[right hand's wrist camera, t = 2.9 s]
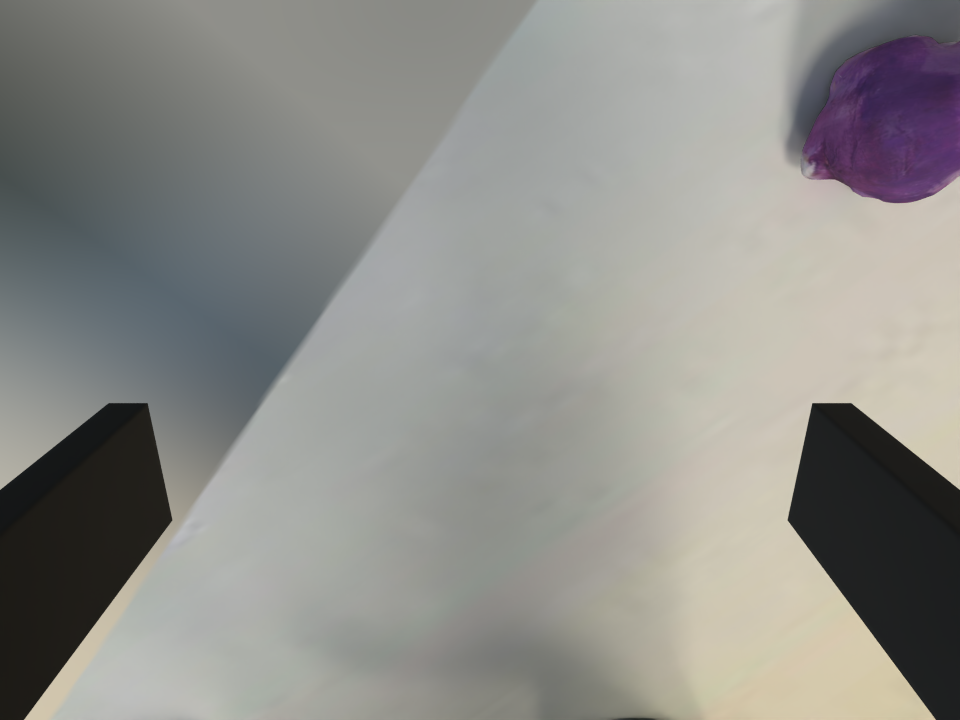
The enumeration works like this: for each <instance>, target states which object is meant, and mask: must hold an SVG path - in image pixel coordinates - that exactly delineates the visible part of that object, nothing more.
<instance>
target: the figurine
mask: <svg viewBox="0 0 960 720" xmlns="http://www.w3.org/2000/svg"><path fill="white" fill-rule="evenodd" d="M801 171H802V174H803V176H804V177H805V178H808V179H814V180H824V179H835V180H838V181H840V182H842V183H844V184H846V185H847V186H849V187H850V188H851V189H852V191H853V192H855V193H857V194H859V195H860V196H862V197H872V198H876V199H880V200H882V201H884V202H890V203H908V202H914V201H918V200H921V199H923V198H926V197H929V196H932V195H934V194H936V193H937V192H939V191H940V190H942V189H943V188H944V187H946V186H947V185H948V184H950V183H951V182H952V181H954V180H955V179H956V178H957V177H958V176H960V41H959V42H946V43H940V44H939V43H937V42H936V41H935V40H934V39H933V38H931V37H925V36H919V35H913V36H908V37H904V38H900V39H896V40H893V41H890V42H887V43H884V44H882V45H879V46H876V47H873V48H870V49H869V50H866V51H863V52H861V53H859V54H857V55H855V56H853V57H851V58H850V59H848V60H846V61H845V62H844V63H843V64H842V65H841V66H840V67H839V69H838V70H837V71H836V73H835V75H834V77H833V80H832V83H831V86H830V95H829V98H828V100H827V103H826V105H825V107H824V108H823V110H822V111H821V112H820V114H819V116H818V117H817V119H816V121H815V123H814V126H813V128H812V130H811V132H810V134H809V137H808V139H807V141H806V143H805V145H804V148H803V151H802V156H801Z"/></svg>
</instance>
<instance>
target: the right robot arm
mask: <svg viewBox="0 0 960 720" xmlns="http://www.w3.org/2000/svg"><path fill="white" fill-rule="evenodd" d="M171 521H172V516H171V511H170V507H169V502H168V497H167V493H166V488H165V483H164V479H163V474H162V469H161V465H160V460H159V455H158V450H157V446H156V441H155V436H154V431H153V427H152V422H151V417H150V413H149V408H148V404H147V403H109V404H107V405H106V406H105V407H104V408H102V409H101V410H100V411H98V412H97V413H96V414H95V415H94V416H92V417H91V418H90V419H88V420H87V421H86V422H85V423H83V424H82V425H81V426H80V427H79V428H77V429H76V430H75V431H73V432H72V433H71V434H70V435H68V436H67V437H66V438H65V439H63V440H62V441H61V442H60V443H58V444H57V445H56V446H55V447H53V448H52V449H51V450H50V451H48V452H47V453H46V454H45V455H43V456H42V457H41V458H40V459H38V460H37V461H36V462H35V463H33V464H32V465H31V466H30V467H28V468H27V469H26V470H25V471H23V472H22V473H21V474H20V475H18V476H17V477H16V478H15V479H13V480H12V481H11V482H10V483H8V484H7V485H6V486H5V487H3V488H2V489H1V490H0V720H24V719H25V718H26V716H27V715H28V714H29V712H30V711H31V710H32V708H33V707H34V705H35V704H36V703H37V701H38V700H39V699H40V697H41V696H42V695H43V693H44V692H45V691H46V689H47V688H48V687H49V685H50V684H51V683H52V681H53V680H54V679H55V677H56V676H57V675H58V673H59V672H60V671H61V669H62V668H63V667H64V665H65V664H66V663H67V661H68V660H69V658H70V657H71V656H72V654H73V653H74V652H75V650H76V649H77V648H78V646H79V645H80V644H81V642H82V641H83V640H84V638H85V637H86V636H87V634H88V633H89V631H90V630H91V629H92V628H93V626H94V625H95V624H96V622H97V621H98V619H99V618H100V617H101V615H102V614H103V613H104V611H105V610H106V609H107V607H108V606H109V605H110V603H111V602H112V601H113V599H114V598H115V597H116V595H117V594H118V593H119V591H120V590H121V589H122V587H123V586H124V584H125V583H126V582H127V580H128V579H129V578H130V576H131V575H132V574H133V572H134V571H135V570H136V568H137V567H138V566H139V564H140V563H141V562H142V560H143V559H144V558H145V556H146V555H147V554H148V552H149V551H150V550H151V548H152V547H153V546H154V544H155V543H156V542H157V540H158V539H159V537H160V536H161V535H162V533H163V532H164V531H165V529H166V528H167V527H168V525H169V524H170V523H171ZM788 521H789V523H790V524H791V525H792V527H793V528H794V529H795V531H796V532H797V533H798V535H799V536H800V537H801V539H802V540H803V542H804V543H805V544H806V546H807V547H808V548H809V550H810V551H811V552H812V554H813V555H814V556H815V558H816V559H817V560H818V562H819V563H820V564H821V566H822V567H823V568H824V570H825V571H826V572H827V574H828V575H829V576H830V578H831V579H832V581H833V582H834V583H835V585H836V586H837V587H838V589H839V590H840V591H841V593H842V594H843V595H844V597H845V598H846V599H847V601H848V602H849V603H850V605H851V606H852V607H853V609H854V610H855V611H856V613H857V614H858V615H859V617H860V618H861V619H862V621H863V622H864V624H865V625H866V626H867V628H868V629H869V630H870V632H871V633H872V634H873V636H874V637H875V638H876V640H877V641H878V642H879V644H880V645H881V646H882V648H883V649H884V650H885V652H886V653H887V654H888V656H889V657H890V658H891V660H892V661H893V663H894V664H895V665H896V667H897V668H898V669H899V671H900V672H901V673H902V675H903V676H904V677H905V679H906V680H907V681H908V683H909V684H910V685H911V687H912V688H913V689H914V691H915V692H916V693H917V695H918V696H919V697H920V699H921V700H922V701H923V703H924V704H925V706H926V707H927V708H928V710H929V711H930V712H931V714H932V715H933V716H934V718H935V719H936V720H960V490H959V489H958V488H957V487H955V486H954V485H953V484H952V483H950V482H949V481H948V480H947V479H945V478H944V477H943V476H942V475H940V474H939V473H938V472H937V471H935V470H934V469H933V468H932V467H930V466H929V465H928V464H927V463H925V462H924V461H923V460H922V459H920V458H919V457H918V456H917V455H915V454H914V453H913V452H912V451H910V450H909V449H908V448H907V447H905V446H904V445H903V444H902V443H900V442H899V441H898V440H897V439H895V438H894V437H893V436H892V435H890V434H889V433H888V432H887V431H885V430H884V429H883V428H882V427H880V426H879V425H878V424H877V423H875V422H874V421H873V420H872V419H870V418H869V417H868V416H867V415H865V414H864V413H863V412H862V411H860V410H859V409H858V408H857V407H855V406H854V405H853V404H851V403H812V408H811V413H810V417H809V422H808V427H807V431H806V436H805V441H804V446H803V450H802V455H801V460H800V464H799V469H798V474H797V478H796V483H795V488H794V493H793V497H792V502H791V507H790V511H789V516H788Z"/></svg>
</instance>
